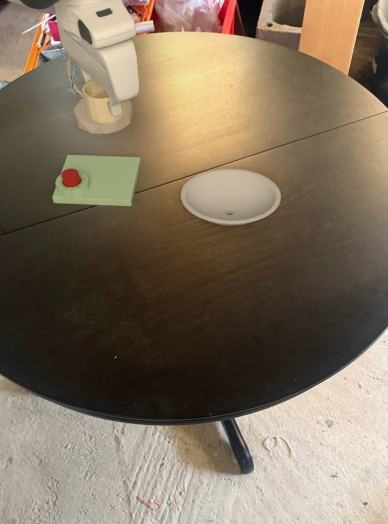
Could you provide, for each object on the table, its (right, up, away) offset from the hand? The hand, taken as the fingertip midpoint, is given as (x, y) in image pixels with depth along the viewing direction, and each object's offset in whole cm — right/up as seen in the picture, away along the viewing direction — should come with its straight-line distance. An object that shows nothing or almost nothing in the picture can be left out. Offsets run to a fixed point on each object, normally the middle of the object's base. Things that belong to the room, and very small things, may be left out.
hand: (104, 102), depth 78 cm
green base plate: (-4, -8, +15) cm, 18 cm away
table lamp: (-5, +11, +28) cm, 30 cm away
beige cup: (0, -1, +2) cm, 2 cm away
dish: (+21, -16, +10) cm, 28 cm away
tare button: (-8, -9, +11) cm, 17 cm away
